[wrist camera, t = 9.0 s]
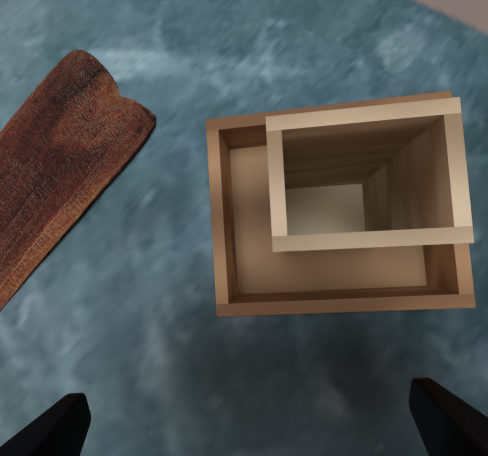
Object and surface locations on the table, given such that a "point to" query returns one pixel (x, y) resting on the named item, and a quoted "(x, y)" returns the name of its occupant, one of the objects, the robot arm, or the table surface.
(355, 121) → the birch crate
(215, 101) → the table surface
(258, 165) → the oak crate
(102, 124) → the wooden tablet
